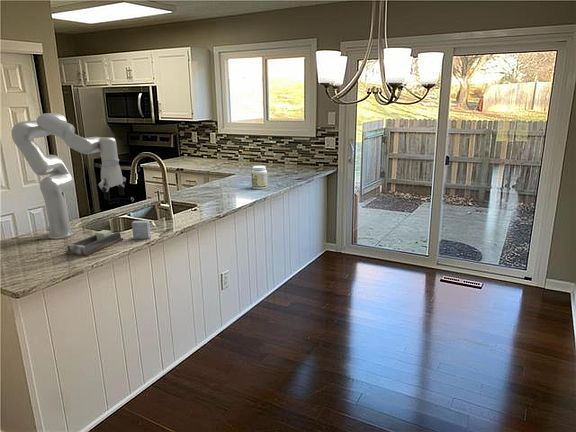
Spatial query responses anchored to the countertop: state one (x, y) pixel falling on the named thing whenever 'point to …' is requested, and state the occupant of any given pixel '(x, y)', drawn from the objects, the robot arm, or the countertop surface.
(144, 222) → the medicine box
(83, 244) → the chute
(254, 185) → the supplement tub
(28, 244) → the countertop surface
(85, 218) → the countertop surface
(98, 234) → the block
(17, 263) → the countertop surface
